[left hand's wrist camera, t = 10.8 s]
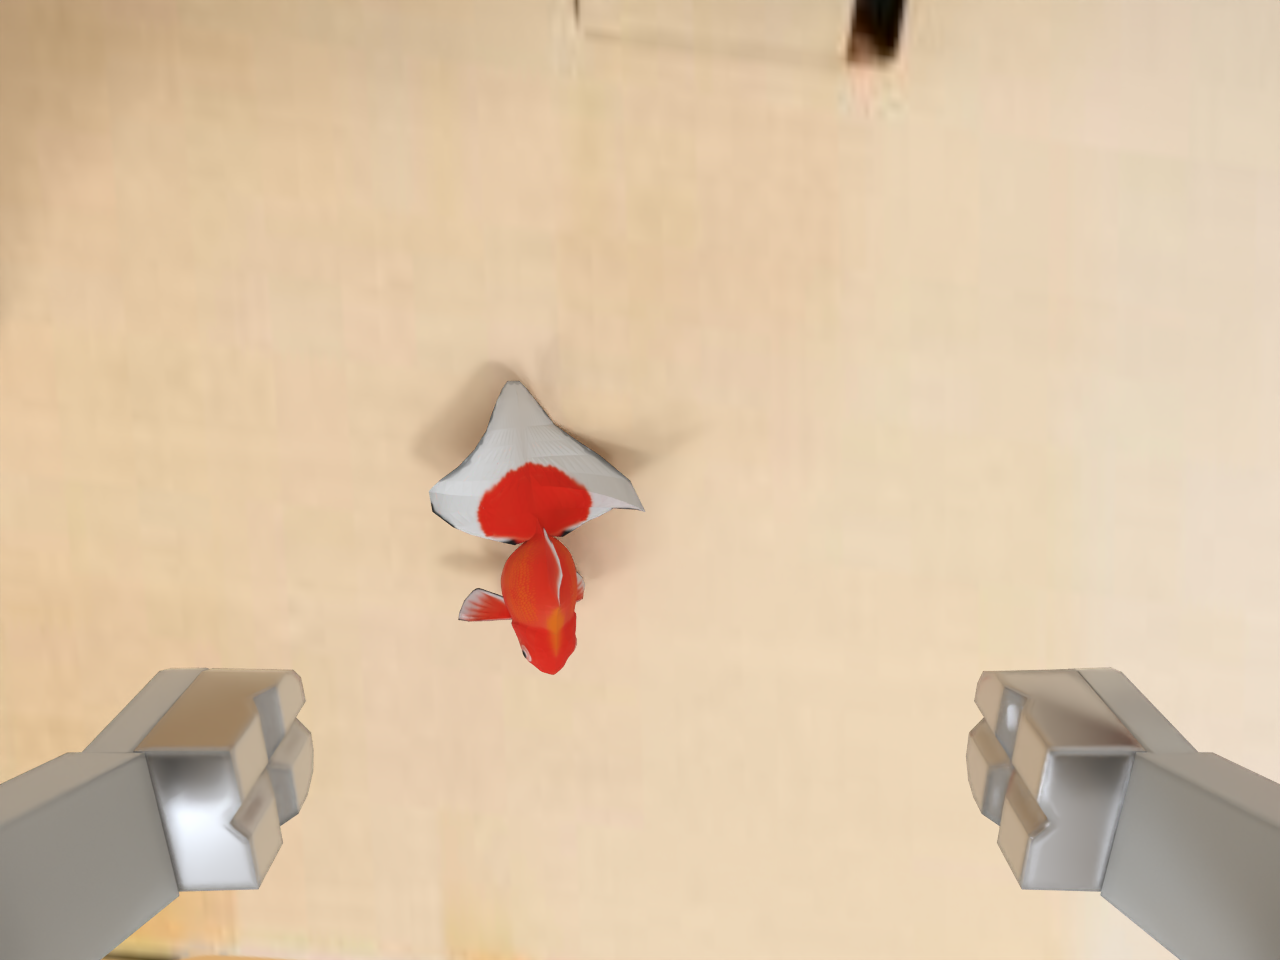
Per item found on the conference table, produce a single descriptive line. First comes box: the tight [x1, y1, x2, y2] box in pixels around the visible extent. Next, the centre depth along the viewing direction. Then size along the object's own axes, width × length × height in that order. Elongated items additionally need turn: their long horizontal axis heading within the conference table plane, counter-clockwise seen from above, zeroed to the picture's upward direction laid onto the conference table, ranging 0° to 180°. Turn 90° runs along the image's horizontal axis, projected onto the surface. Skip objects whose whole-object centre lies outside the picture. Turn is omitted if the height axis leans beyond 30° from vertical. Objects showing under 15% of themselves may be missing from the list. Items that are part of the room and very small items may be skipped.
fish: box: [429, 381, 645, 675], centre depth 46 cm, size 11×16×10 cm
